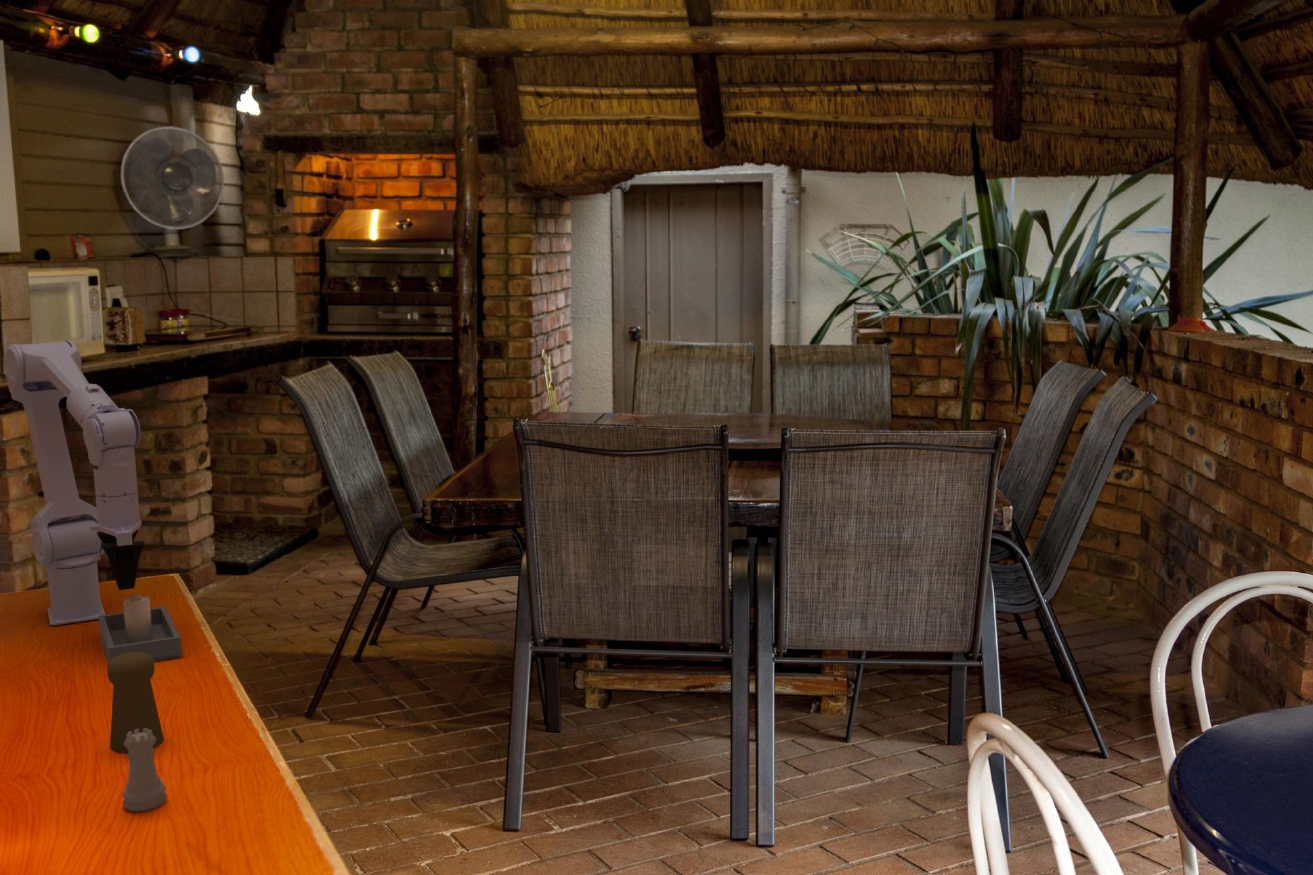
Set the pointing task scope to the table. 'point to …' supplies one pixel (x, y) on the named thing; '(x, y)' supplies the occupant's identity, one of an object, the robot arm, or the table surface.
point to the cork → (132, 699)
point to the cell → (137, 619)
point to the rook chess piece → (142, 774)
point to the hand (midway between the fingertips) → (123, 582)
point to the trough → (159, 648)
